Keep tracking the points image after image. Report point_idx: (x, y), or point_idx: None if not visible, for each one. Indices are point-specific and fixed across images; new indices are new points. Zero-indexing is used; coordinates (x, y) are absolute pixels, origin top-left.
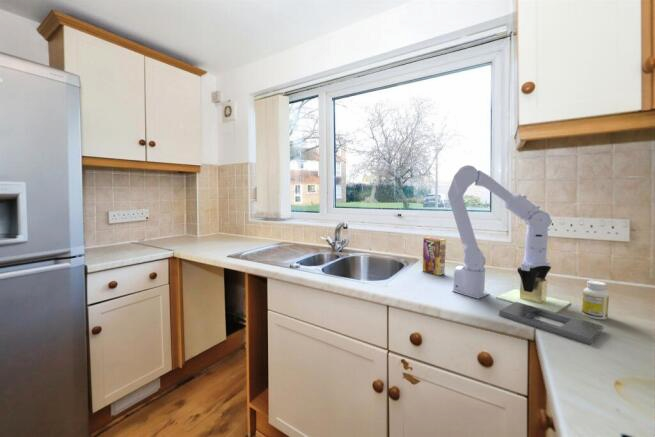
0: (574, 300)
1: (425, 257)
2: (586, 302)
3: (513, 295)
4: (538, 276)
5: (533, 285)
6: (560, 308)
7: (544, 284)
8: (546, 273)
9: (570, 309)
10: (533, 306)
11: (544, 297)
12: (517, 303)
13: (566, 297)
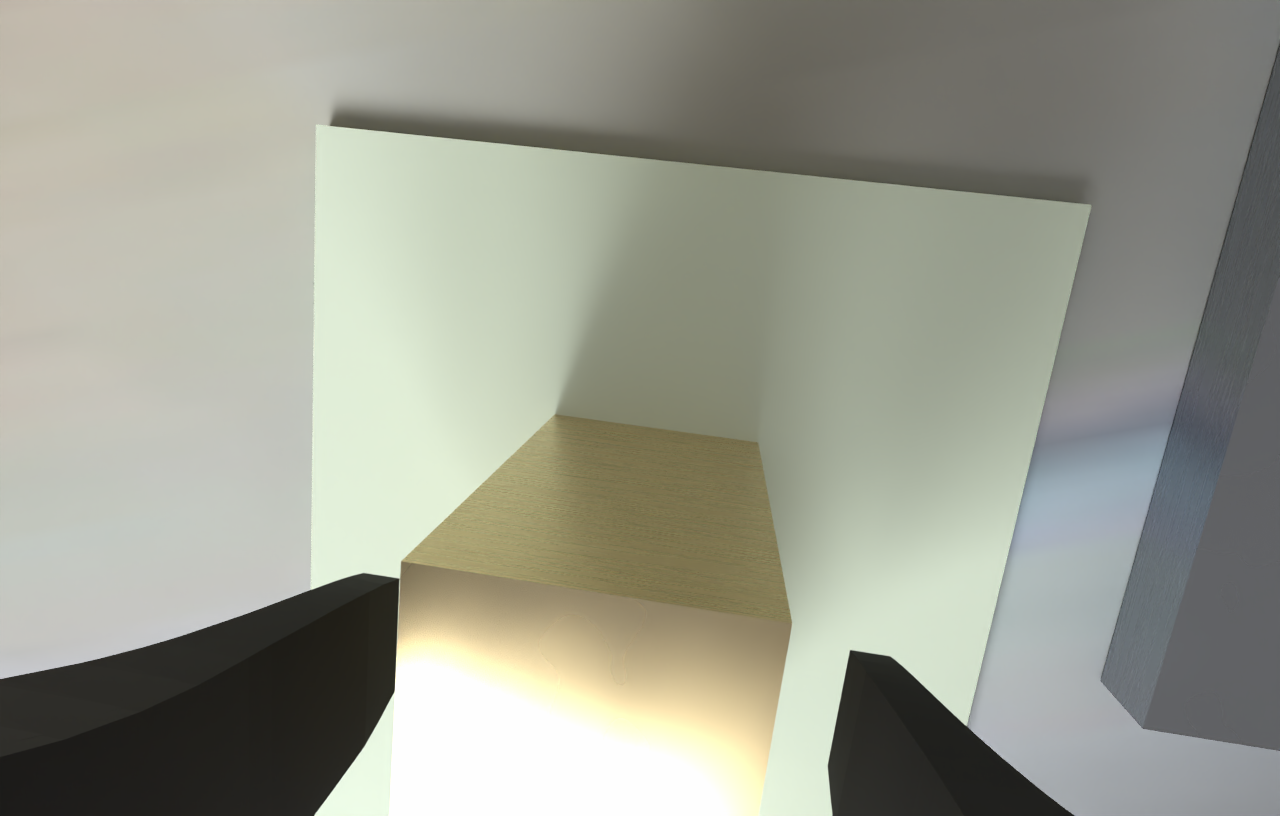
0: (111, 116)
1: None
2: None
3: None
4: (242, 788)
5: (949, 730)
6: (766, 179)
7: (624, 550)
8: (82, 700)
9: (622, 71)
10: (977, 499)
11: (617, 444)
12: (1227, 699)
13: (62, 234)
